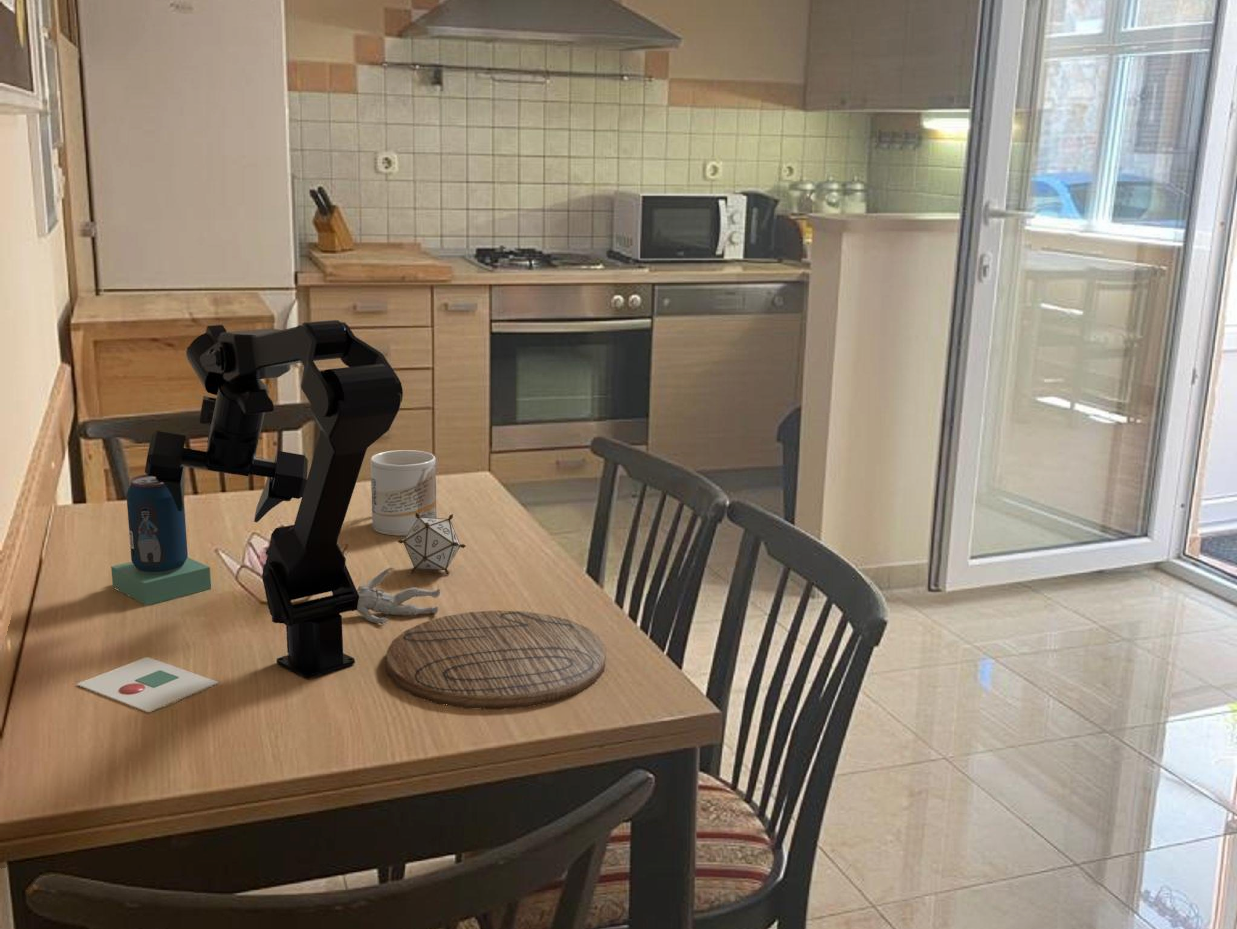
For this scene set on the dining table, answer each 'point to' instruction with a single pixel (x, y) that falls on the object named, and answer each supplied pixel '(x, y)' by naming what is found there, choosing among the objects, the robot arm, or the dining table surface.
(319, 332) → the robot arm
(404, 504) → the mug
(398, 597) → the soldier figure
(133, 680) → the page
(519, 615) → the trivet
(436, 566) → the game die
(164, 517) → the soda can
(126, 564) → the base brick
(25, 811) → the dining table surface
